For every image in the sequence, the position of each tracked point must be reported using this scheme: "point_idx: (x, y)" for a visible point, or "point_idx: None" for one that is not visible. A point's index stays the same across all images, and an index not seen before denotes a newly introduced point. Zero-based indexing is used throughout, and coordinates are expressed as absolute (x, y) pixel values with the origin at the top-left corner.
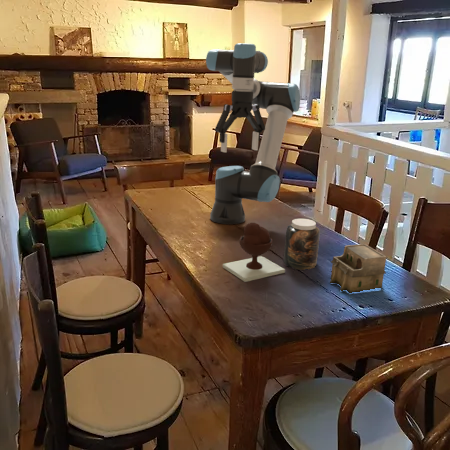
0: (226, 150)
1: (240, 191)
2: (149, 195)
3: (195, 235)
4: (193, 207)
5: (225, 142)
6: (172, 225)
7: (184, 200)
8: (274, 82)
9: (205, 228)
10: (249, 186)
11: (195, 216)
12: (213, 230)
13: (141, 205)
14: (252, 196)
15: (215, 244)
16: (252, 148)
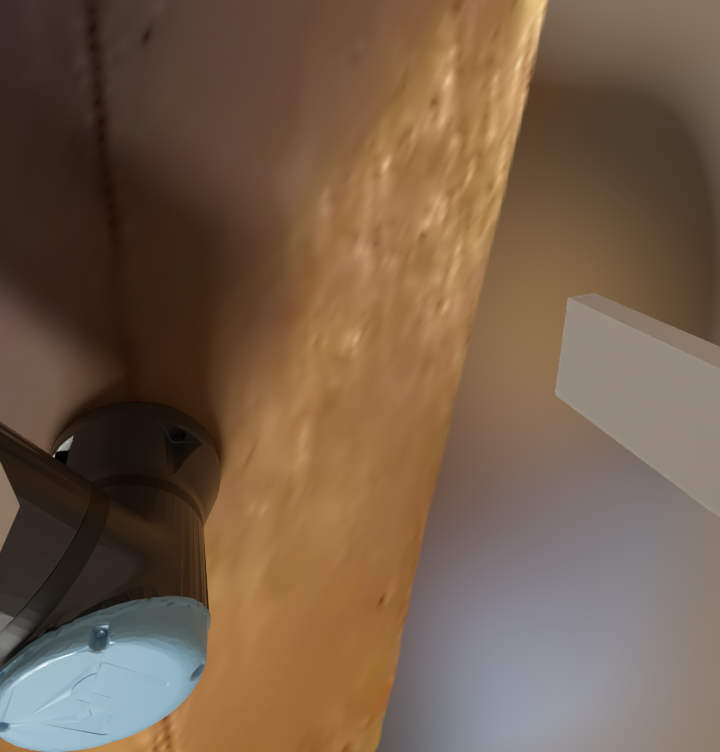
0: (590, 306)
1: (89, 485)
2: (327, 725)
3: (359, 314)
4: (226, 615)
5: (717, 348)
6: (389, 439)
7: (227, 686)
8: None
9: (284, 382)
10: (24, 476)
11: (262, 520)
12: (261, 351)
13: (394, 636)
14: (14, 432)
15: (330, 182)
16: (9, 499)
